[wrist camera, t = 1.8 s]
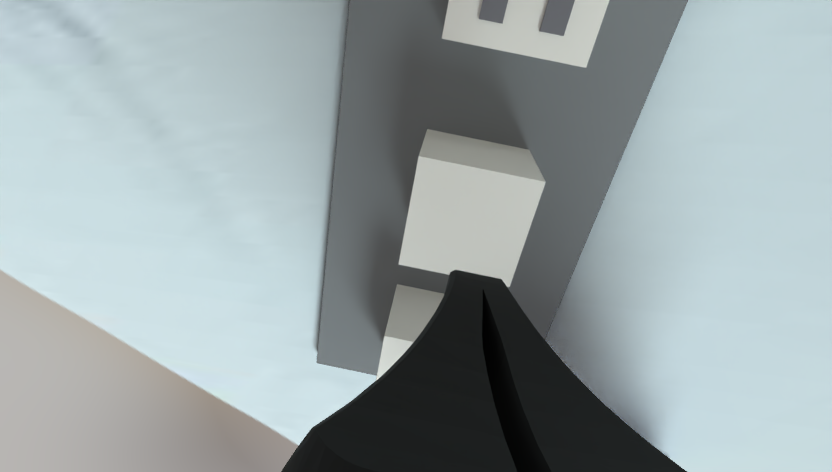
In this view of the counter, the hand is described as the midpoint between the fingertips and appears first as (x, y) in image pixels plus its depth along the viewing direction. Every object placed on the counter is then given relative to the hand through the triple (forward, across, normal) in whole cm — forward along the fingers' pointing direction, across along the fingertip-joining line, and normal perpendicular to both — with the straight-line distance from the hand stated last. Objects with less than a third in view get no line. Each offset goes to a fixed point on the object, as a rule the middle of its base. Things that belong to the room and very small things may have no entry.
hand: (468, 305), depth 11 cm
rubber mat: (+9, 0, 0) cm, 9 cm away
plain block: (+9, 0, 0) cm, 9 cm away
